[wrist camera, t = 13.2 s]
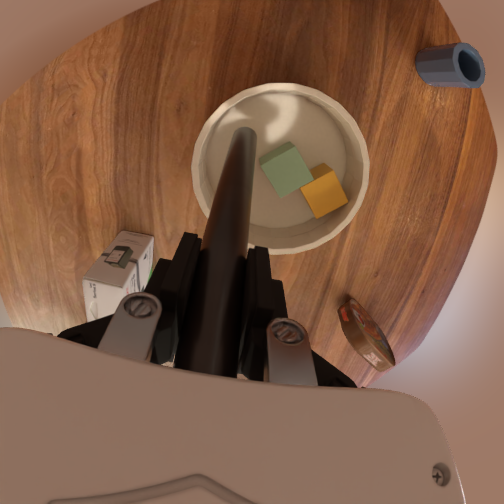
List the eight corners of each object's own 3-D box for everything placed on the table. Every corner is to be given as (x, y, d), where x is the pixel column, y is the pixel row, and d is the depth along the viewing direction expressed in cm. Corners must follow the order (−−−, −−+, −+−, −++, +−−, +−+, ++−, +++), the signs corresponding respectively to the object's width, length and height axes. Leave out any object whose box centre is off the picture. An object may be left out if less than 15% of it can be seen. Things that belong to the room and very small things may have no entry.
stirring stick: (228, 131, 22) (156, 378, 8) (251, 122, 22) (215, 375, 7) (238, 151, 24) (192, 401, 9) (260, 143, 23) (246, 399, 8)
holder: (418, 41, 24) (455, 34, 17) (448, 60, 24) (487, 58, 17) (411, 75, 26) (449, 73, 19) (442, 92, 27) (481, 96, 20)
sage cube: (289, 140, 30) (295, 145, 27) (306, 170, 32) (314, 179, 28) (258, 158, 31) (260, 165, 28) (276, 187, 33) (280, 198, 29)
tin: (386, 336, 46) (403, 371, 39) (372, 345, 47) (386, 381, 40) (345, 288, 41) (363, 327, 33) (328, 300, 42) (342, 340, 34)
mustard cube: (293, 178, 32) (299, 187, 29) (324, 162, 32) (333, 169, 28) (309, 206, 34) (316, 219, 31) (338, 191, 33) (348, 202, 30)
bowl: (217, 73, 27) (211, 66, 22) (366, 112, 29) (389, 115, 24) (190, 216, 35) (180, 237, 30) (325, 242, 37) (337, 267, 32)
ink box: (152, 288, 40) (127, 347, 30) (121, 281, 40) (89, 337, 29) (155, 235, 36) (123, 288, 26) (120, 228, 36) (79, 277, 25)
